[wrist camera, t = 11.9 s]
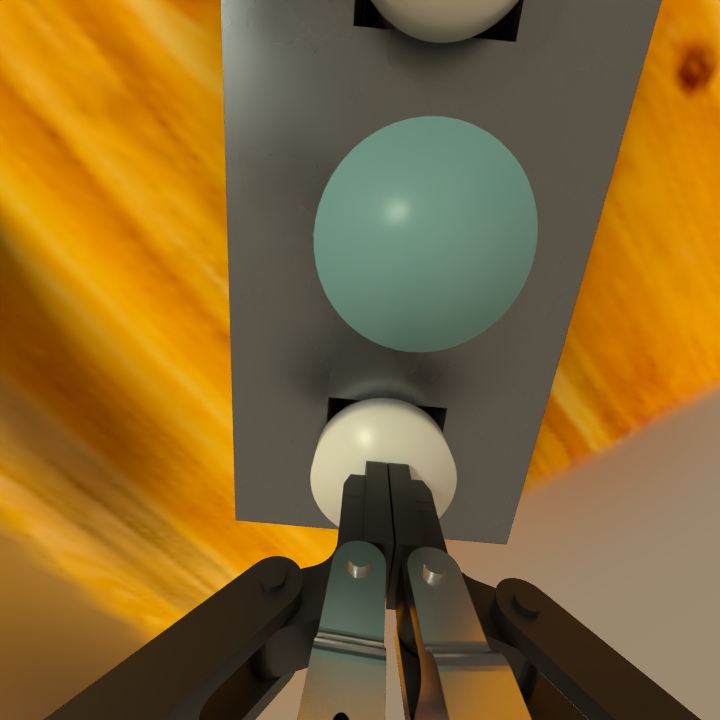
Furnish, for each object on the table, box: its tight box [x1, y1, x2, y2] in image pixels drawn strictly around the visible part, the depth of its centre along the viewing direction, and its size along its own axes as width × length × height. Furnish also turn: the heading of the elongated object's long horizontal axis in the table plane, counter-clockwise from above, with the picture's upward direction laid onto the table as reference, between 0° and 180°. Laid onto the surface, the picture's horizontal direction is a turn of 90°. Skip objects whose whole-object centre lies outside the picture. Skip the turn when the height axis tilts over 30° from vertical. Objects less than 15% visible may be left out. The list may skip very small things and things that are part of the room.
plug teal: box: [314, 116, 538, 352], centre depth 11 cm, size 5×5×6 cm
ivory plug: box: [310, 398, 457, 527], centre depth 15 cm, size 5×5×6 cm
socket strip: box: [221, 0, 662, 544], centre depth 14 cm, size 24×12×5 cm, turn 175°
